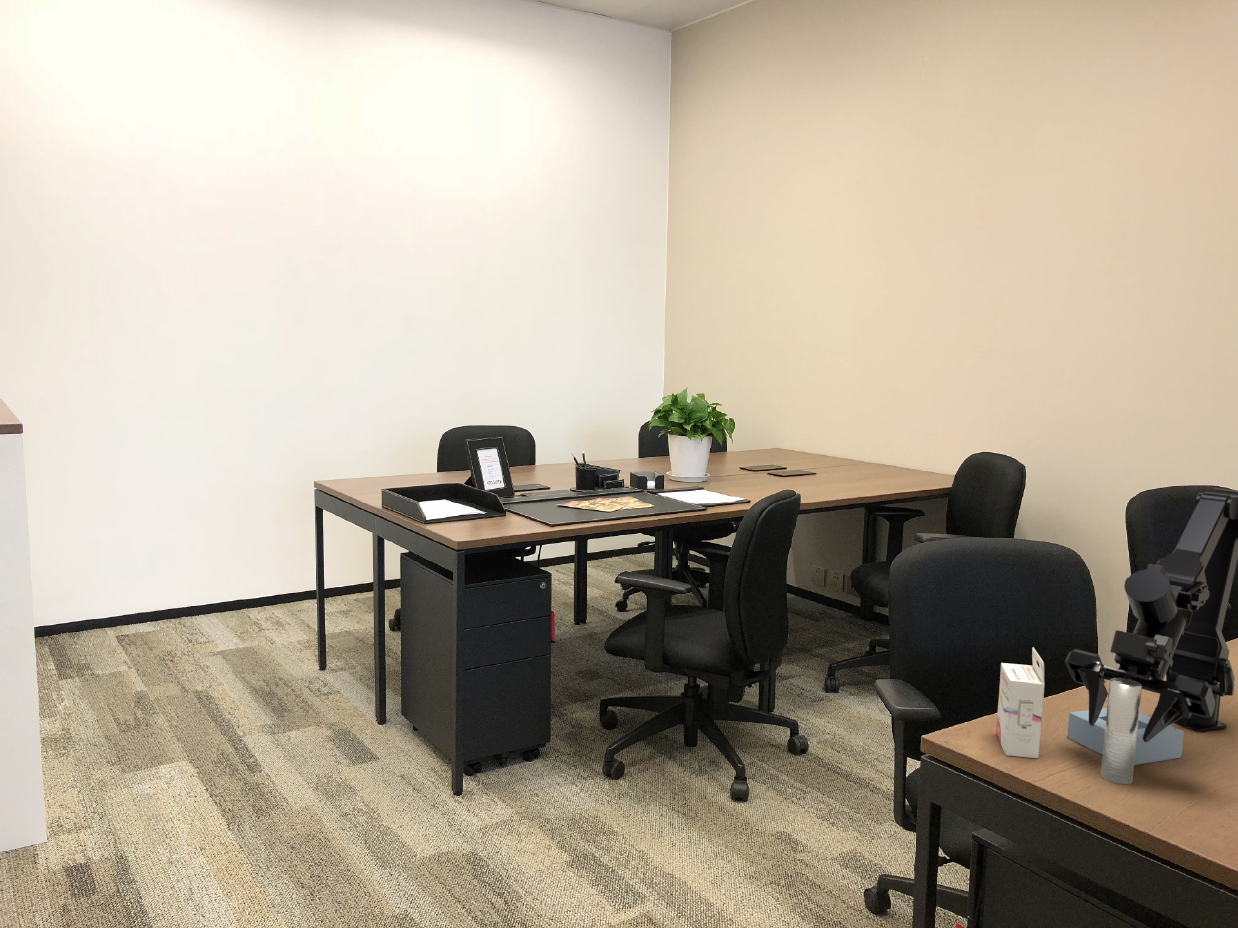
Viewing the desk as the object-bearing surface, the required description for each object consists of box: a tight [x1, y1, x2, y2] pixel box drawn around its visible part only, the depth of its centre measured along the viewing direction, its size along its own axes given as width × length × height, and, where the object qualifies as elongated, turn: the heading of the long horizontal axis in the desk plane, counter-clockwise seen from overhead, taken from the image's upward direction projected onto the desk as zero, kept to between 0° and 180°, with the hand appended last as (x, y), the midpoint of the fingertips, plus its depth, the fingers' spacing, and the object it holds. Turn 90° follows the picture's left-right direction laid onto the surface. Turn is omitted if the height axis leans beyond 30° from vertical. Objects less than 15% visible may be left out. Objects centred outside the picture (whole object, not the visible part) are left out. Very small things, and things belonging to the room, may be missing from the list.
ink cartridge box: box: [995, 646, 1045, 759], centre depth 145 cm, size 9×5×15 cm, turn 168°
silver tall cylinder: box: [1100, 678, 1143, 785], centre depth 135 cm, size 4×4×14 cm
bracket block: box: [1066, 707, 1185, 766], centre depth 146 cm, size 11×11×4 cm
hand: (1117, 732), depth 134 cm, fingers open, 7 cm apart
